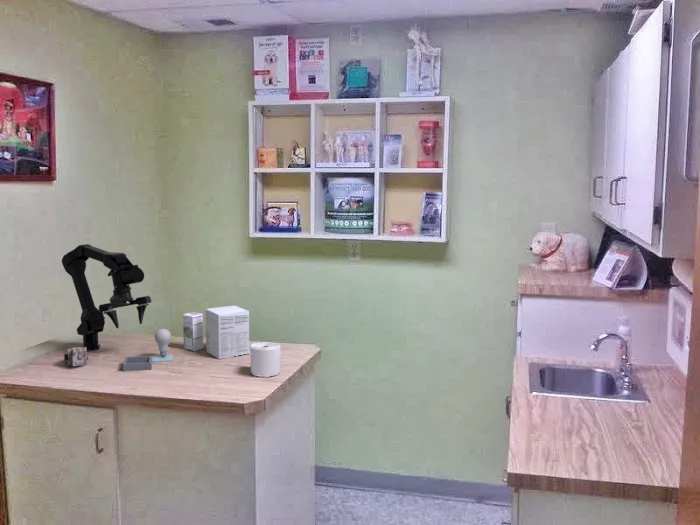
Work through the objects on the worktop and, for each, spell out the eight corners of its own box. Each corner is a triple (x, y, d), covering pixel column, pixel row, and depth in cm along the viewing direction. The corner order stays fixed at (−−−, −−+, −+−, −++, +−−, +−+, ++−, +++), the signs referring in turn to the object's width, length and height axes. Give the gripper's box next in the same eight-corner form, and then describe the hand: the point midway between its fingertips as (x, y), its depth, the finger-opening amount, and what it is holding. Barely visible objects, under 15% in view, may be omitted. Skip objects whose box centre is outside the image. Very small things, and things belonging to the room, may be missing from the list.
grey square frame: (125, 363, 250) (125, 357, 250) (152, 362, 253) (152, 355, 252) (123, 371, 241) (123, 364, 241) (151, 369, 243) (151, 362, 243)
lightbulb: (174, 356, 259) (174, 328, 257) (160, 360, 254) (160, 331, 253) (166, 353, 263) (165, 326, 261) (152, 356, 258) (151, 328, 257)
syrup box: (204, 348, 273) (203, 313, 271) (193, 351, 268) (192, 315, 266) (193, 346, 276) (193, 311, 274) (183, 349, 271) (182, 313, 269)
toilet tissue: (272, 379, 234) (272, 351, 232) (241, 375, 238) (241, 347, 237) (285, 370, 244) (285, 343, 242) (256, 367, 248) (255, 340, 247)
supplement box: (250, 354, 264) (250, 310, 262) (218, 359, 257) (218, 314, 255) (236, 347, 275) (235, 305, 273) (205, 351, 268) (204, 308, 266)
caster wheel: (75, 365, 256) (96, 364, 253) (52, 367, 246) (74, 366, 242) (75, 347, 257) (96, 346, 253) (52, 348, 247) (74, 347, 243)
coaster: (151, 356, 260) (151, 355, 260) (172, 355, 262) (172, 354, 262) (150, 362, 253) (150, 361, 253) (172, 360, 255) (172, 359, 254)
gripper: (88, 292, 250) (96, 333, 251) (137, 282, 249) (145, 324, 250) (101, 289, 261) (109, 329, 262) (148, 281, 260) (155, 320, 261)
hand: (129, 326), depth 258 cm, fingers open, 9 cm apart
